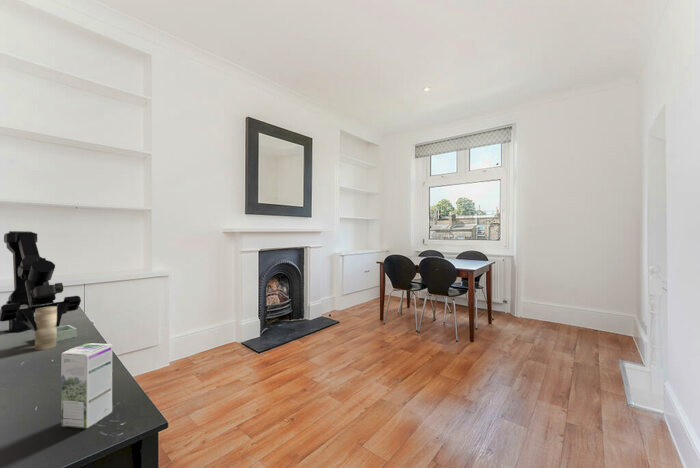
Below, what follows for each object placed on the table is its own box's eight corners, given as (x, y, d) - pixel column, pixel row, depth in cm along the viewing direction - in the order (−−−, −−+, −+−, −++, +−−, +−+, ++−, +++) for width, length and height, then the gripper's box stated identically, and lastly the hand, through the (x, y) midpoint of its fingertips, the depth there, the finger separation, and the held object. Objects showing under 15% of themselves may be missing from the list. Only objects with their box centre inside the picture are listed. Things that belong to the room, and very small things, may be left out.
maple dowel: (30, 350, 95) (30, 309, 95) (45, 344, 100) (46, 306, 100) (46, 349, 95) (46, 309, 95) (60, 344, 100) (61, 306, 100)
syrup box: (113, 411, 61) (114, 342, 62) (85, 430, 56) (86, 353, 56) (88, 410, 62) (89, 341, 62) (58, 428, 56) (59, 352, 56)
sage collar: (37, 339, 105) (37, 330, 105) (69, 332, 112) (69, 324, 112) (43, 343, 100) (43, 335, 101) (76, 336, 108) (77, 328, 108)
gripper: (1, 279, 92) (8, 319, 86) (79, 273, 108) (90, 307, 102) (-4, 301, 96) (2, 341, 90) (72, 292, 112) (81, 326, 106)
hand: (47, 328), depth 97 cm, fingers closed on maple dowel, 5 cm apart
